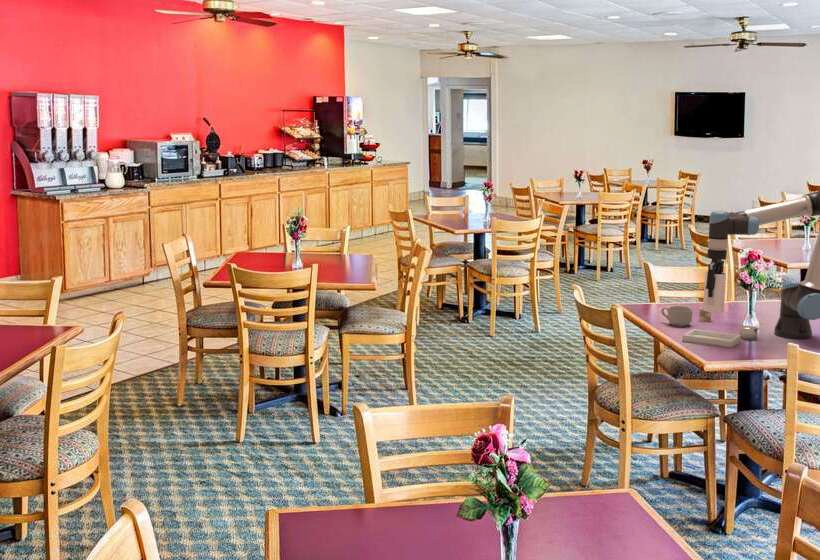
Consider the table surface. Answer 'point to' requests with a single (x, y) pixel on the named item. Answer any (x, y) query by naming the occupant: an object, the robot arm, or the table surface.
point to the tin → (748, 332)
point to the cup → (719, 294)
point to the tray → (711, 338)
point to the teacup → (678, 315)
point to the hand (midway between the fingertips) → (713, 302)
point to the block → (704, 316)
